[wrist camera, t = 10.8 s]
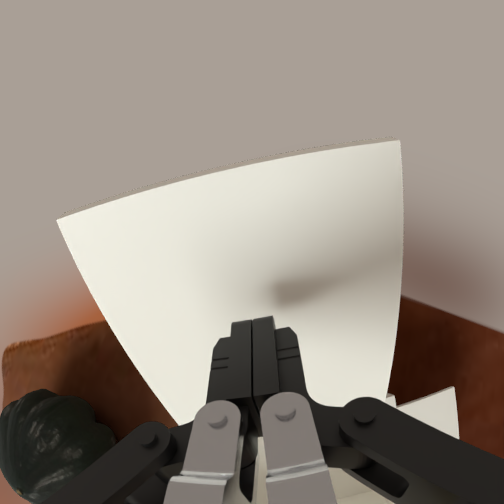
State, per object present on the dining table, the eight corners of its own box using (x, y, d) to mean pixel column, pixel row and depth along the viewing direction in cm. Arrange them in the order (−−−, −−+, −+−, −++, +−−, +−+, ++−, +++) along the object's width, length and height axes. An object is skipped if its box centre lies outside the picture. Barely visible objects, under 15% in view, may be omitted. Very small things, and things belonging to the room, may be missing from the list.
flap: (380, 394, 19) (389, 136, 11) (384, 404, 18) (400, 140, 10) (188, 425, 20) (65, 211, 12) (187, 435, 19) (56, 220, 11)
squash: (1, 376, 26) (-47, 464, 12) (84, 353, 26) (36, 477, 12) (67, 448, 31) (46, 533, 17) (153, 437, 31) (147, 545, 17)
